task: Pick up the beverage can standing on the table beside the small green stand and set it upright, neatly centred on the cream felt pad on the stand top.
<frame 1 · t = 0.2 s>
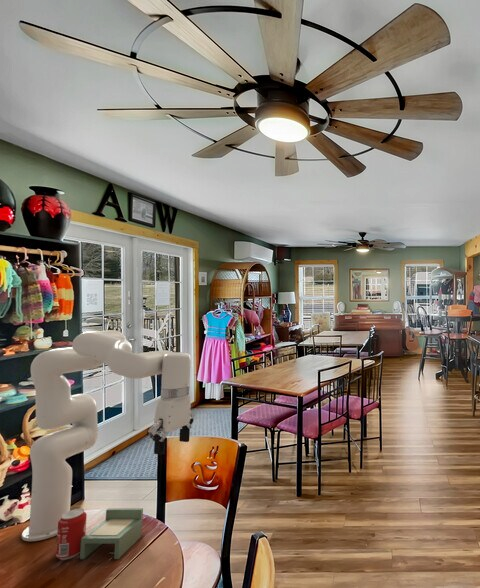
hand: (172, 447, 107), 31 cm above the table, tool pointing down, fingers open, 9 cm apart
beverage can: (70, 554, 102), on the table
green stand: (112, 547, 106), on the table
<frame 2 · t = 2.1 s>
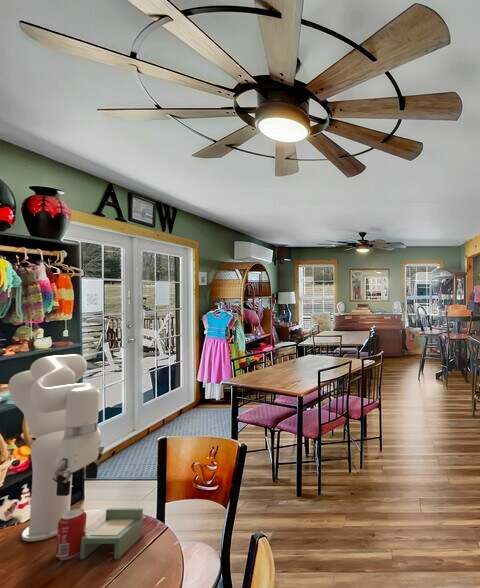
hand: (77, 486, 103), 20 cm above the table, tool pointing down, fingers open, 9 cm apart
nothing on the table moved.
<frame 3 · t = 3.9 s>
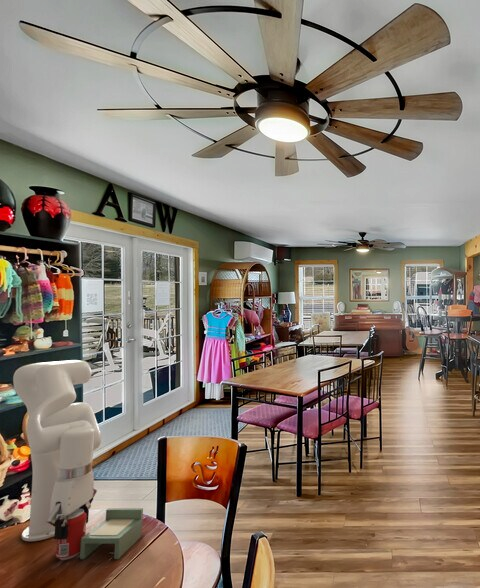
hand: (71, 530, 102), 7 cm above the table, tool pointing down, fingers closed on beverage can, 6 cm apart
beverage can: (70, 554, 102), on the table, touching gripper
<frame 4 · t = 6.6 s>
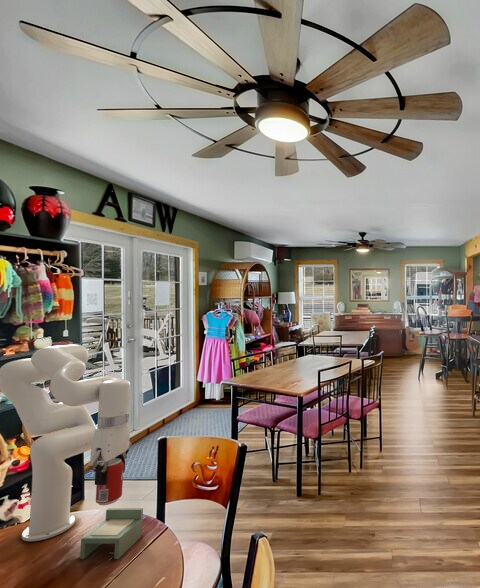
hand: (110, 477, 106), 21 cm above the table, tool pointing down, fingers closed on beverage can, 6 cm apart
beverage can: (108, 501, 106), point 14 cm above the table, touching gripper
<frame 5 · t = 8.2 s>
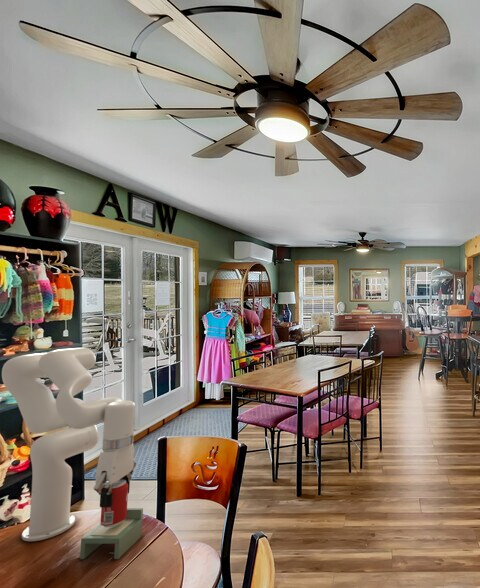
hand: (114, 499, 106), 14 cm above the table, tool pointing down, fingers closed on beverage can, 6 cm apart
beverage can: (113, 523, 106), point 7 cm above the table, touching gripper
when the fingers open (13 cm above the table, at t = 9.1 s): beverage can stays where it is, resting on green stand.
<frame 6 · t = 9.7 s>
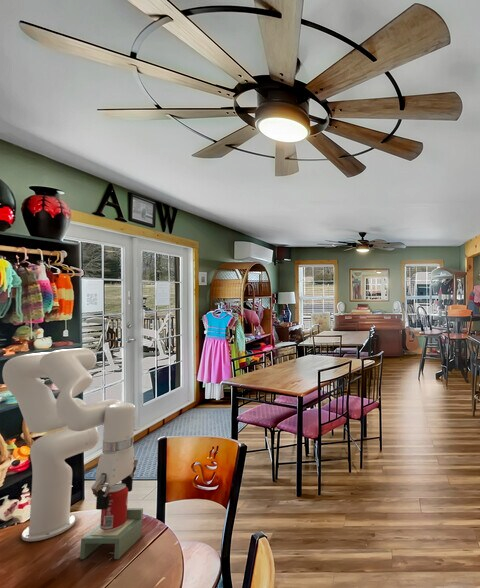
hand: (114, 499, 106), 14 cm above the table, tool pointing down, fingers open, 9 cm apart
beverage can: (113, 527, 106), point 6 cm above the table, touching green stand
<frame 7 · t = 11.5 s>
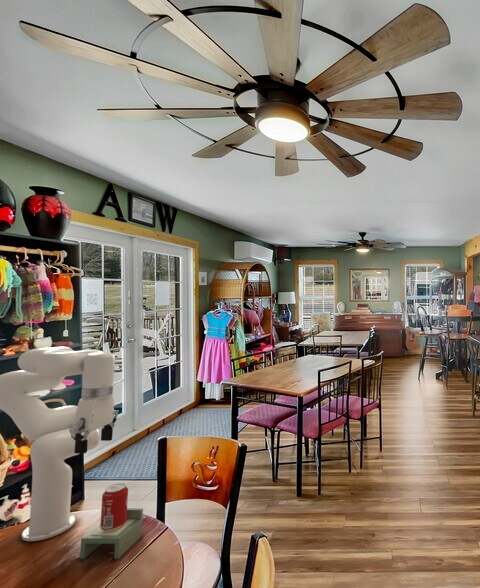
hand: (94, 446, 108), 30 cm above the table, tool pointing down, fingers open, 9 cm apart
nothing on the table moved.
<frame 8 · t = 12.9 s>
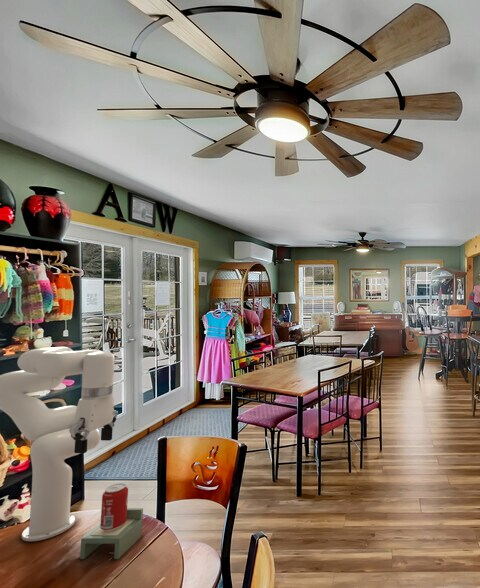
hand: (94, 446, 108), 30 cm above the table, tool pointing down, fingers open, 9 cm apart
nothing on the table moved.
at the end: beverage can 0.0 cm off-centre on the green stand, point 6.0 cm above the green stand's base; beverage can tilted 0°; the gripper is holding nothing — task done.
